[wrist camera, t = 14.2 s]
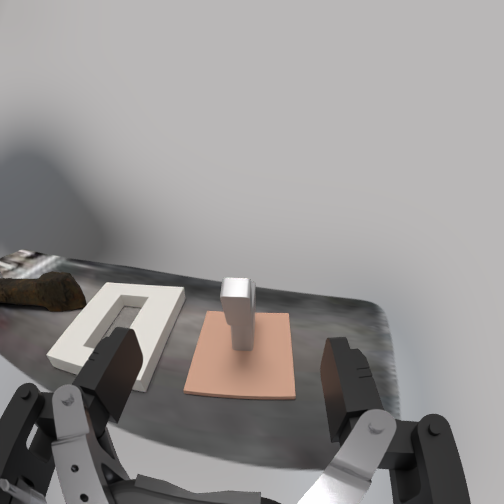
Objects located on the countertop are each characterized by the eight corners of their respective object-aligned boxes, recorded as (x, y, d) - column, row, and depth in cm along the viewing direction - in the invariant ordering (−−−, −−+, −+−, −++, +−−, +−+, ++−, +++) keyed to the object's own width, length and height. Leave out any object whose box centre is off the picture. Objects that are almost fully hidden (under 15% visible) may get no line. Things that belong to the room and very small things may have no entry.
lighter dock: (53, 366, 18) (46, 354, 17) (109, 293, 30) (106, 282, 29) (145, 392, 17) (140, 380, 17) (185, 298, 29) (183, 287, 28)
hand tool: (-11, 308, 23) (-22, 280, 22) (3, 294, 27) (-7, 267, 25) (78, 324, 24) (64, 287, 22) (92, 303, 28) (81, 269, 26)
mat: (184, 393, 18) (183, 390, 17) (207, 314, 27) (207, 310, 26) (294, 399, 17) (295, 396, 17) (288, 316, 26) (288, 313, 26)
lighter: (237, 319, 25) (233, 240, 22) (255, 320, 25) (255, 241, 22) (227, 376, 19) (219, 287, 15) (250, 378, 19) (249, 288, 15)
